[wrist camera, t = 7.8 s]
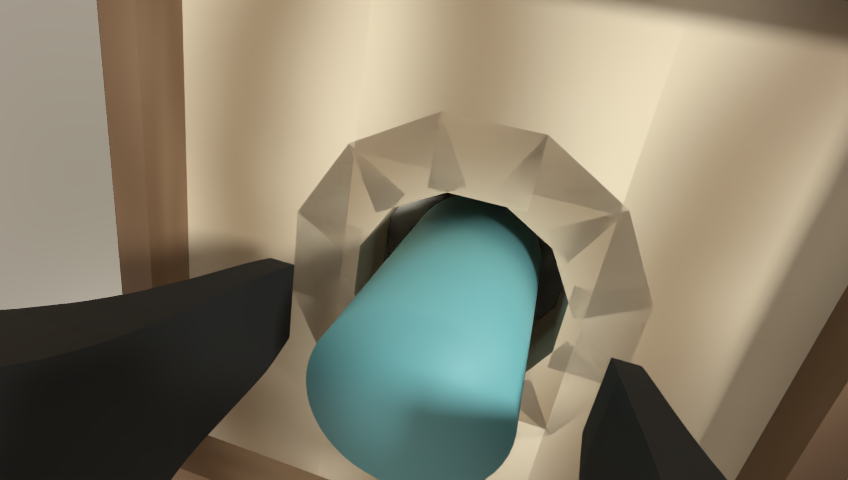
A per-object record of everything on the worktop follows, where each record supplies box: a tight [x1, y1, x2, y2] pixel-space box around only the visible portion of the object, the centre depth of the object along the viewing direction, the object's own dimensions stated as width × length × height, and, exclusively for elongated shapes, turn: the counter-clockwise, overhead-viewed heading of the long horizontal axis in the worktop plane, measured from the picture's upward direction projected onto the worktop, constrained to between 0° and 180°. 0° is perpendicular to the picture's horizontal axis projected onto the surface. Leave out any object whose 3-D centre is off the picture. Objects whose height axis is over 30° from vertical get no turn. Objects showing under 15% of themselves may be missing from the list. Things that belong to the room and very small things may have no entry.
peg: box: [306, 195, 542, 480], centre depth 12 cm, size 4×4×7 cm
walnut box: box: [97, 0, 848, 480], centre depth 14 cm, size 18×18×4 cm
